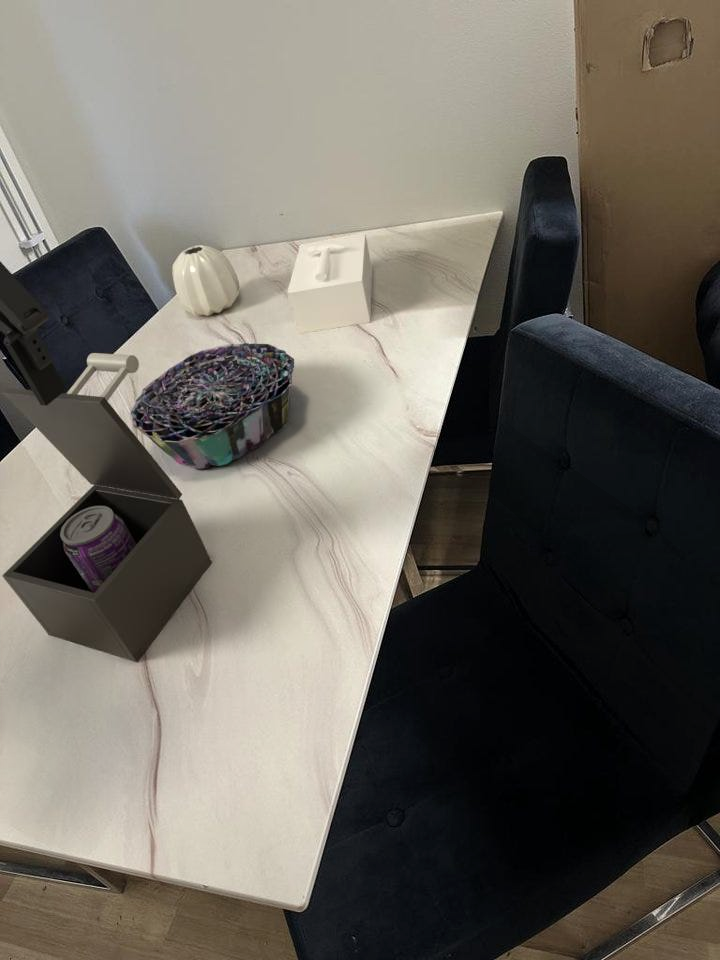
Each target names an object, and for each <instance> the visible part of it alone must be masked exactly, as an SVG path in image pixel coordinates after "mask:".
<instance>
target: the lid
mask: <svg viewBox="0 0 720 960" xmlns="http://www.w3.org/2000/svg"><path fill="white" fill-rule="evenodd" d="M86 364H87V367H86V368H85V369H84V370H83V372H82V373H81V374H80V376H79V377H78V378H77V379H76V381H75V382H74V383H73V385H72V386H71V387H70V388H69V389H68V391H67V392H66V393H65V392H63V393H62V394H60V395H59V396H58V397H57V398H56V399H54V400H53V401H52V402H51V403H49V404H48V405H47V406H45V405H40V403H39V401H38V399H37V398H36V396H35V394H34V393H33V391H32V389H23V388H22V389H21V388H11V387H7V388H6V389H5V390H4V391H3V392H2V394H3V395H4V396H5V397H6V398H7V399H8V400H9V401H10V402H11V403H12V404H13V405H14V406H15V408H17V410H18V411H19V412H20V413H22V415H23V416H24V417H25V418H26V419H27V420H28V421H29V422H30V423H31V424H32V425H33V426H34V427H35V428H36V430H38V431H39V432H40V433H41V434H42V436H43V437H45V439H46V440H48V442H49V443H51V445H52V446H53V447H54V448H55V449H56V450H57V451H58V452H59V454H61V455H62V456H63V457H64V459H66V461H68V462H69V463H70V465H72V467H74V469H76V471H78V473H79V474H80V475H81V476H82V477H83V478H84V479H85V480H86V481H87V482H88V483H89V484H90V485H92V486H94V485H98V486H103V487H109V488H115V489H121V490H127V491H133V492H139V493H145V494H150V495H156V496H162V497H168V498H174V499H180V500H181V497H182V496H183V493H182V492H181V490H179V488H178V487H177V485H175V483H174V482H173V481H172V479H171V478H170V477H169V476H168V474H167V473H166V472H165V471H164V469H163V468H162V467H161V466H160V465H159V462H157V461H156V459H155V458H154V457H153V455H152V454H150V453H151V452H149V451H148V449H147V448H146V447H145V446H144V444H143V443H142V442H141V441H140V439H138V437H137V436H136V434H135V433H134V432H133V431H132V430H131V428H130V427H129V426H128V425H127V424H126V422H125V421H124V420H123V419H122V417H121V416H120V415H119V413H118V412H117V411H116V410H115V409H114V407H113V406H112V405H111V404H110V402H109V400H110V398H111V397H112V395H114V393H115V392H116V390H117V389H118V388H119V386H120V385H121V383H122V382H123V380H125V378H126V377H127V375H128V374H135V373H137V371H138V370H139V367H140V361H139V359H138V357H137V356H136V355H133V354H119V353H118V354H117V353H101V352H99V353H98V352H92V353H89V355H88V356H87V358H86ZM97 371H98V372H109V373H116V374H115V375H114V377H113V378H112V380H110V381H109V383H108V385H107V386H106V387H105V388H104V390H103V392H101V394H100V395H99V396H98V395H97V396H96V395H85V394H79V393H80V392H81V390H82V389H83V388H84V386H85V385H86V384H87V382H88V381H89V380H90V378H91V377H92V376H93V375H94V373H95V372H97Z"/></svg>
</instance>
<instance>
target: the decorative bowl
mask: <svg viewBox="0 0 720 960" xmlns="http://www.w3.org/2000/svg"><path fill="white" fill-rule="evenodd" d="M294 368H295V358H294V357H292V356H291V355H289V354H288V353H287V352H286V350H284V349H280V348H278V347H277V346H274V345H272V344H270V343H247V342H244V343H228V344H223V345H217V346H215V347H213V348H207V349H203V350H200V351H198V352H196V353H193V354H191V355H189V356H187V357H186V358H184V359H183V360H182V361H180V362H178V363H176V364H174V365H173V366H171V367H169V368H168V369H167V370H166V371H164V372H163V373H162V374H160V375H159V376H158V377H157V378H155V379H153V380H152V381H151V382H150V383H148V384H147V385H146V386H145V387H144V388H143V389H142V390H141V393H140V395H139V396H138V397H137V398H136V399H135V403H134V404H133V407H132V409H131V411H130V413H129V414H130V416H131V418H132V426H133V428H135V429H137V430H138V431H139V432H141V433H142V434H143V435H144V436H145V437H147V438H148V439H149V440H150V441H152V443H154V444H155V445H156V446H157V448H159V449H161V450H162V451H163V453H165V454H166V455H167V456H169V457H170V458H171V459H173V460H174V461H175V462H176V463H178V464H179V465H183V466H187V465H188V466H189V467H190V468H192V469H195V470H198V471H201V470H206V469H208V468H209V467H211V466H216V467H224V466H226V465H229V464H230V463H232V461H233V460H234V461H235V460H237V459H239V458H241V457H243V456H244V455H245V454H246V453H247V452H248V451H253V450H256V448H258V447H260V446H261V445H262V444H263V442H264V441H265V440H268V439H269V438H270V437H271V435H273V434H278V433H279V432H281V431H282V430H283V429H284V428H285V427H286V426H287V420H288V411H289V406H290V402H291V401H290V400H291V389H292V388H291V386H292V383H293V376H292V374H293V372H294Z"/></svg>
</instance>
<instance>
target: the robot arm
mask: <svg viewBox="0 0 720 960" xmlns="http://www.w3.org/2000/svg"><path fill="white" fill-rule="evenodd" d="M49 318H50V317H49V313H48V312H47V311H46V310H45V309H44V308H43V306H41V304H40V303H39V302H38V301H37V300H36V298H35V297H34V296H33V295H32V294H31V293H30V292H29V291H28V290H27V289H26V288H25V287H24V286H23V285H22V283H21V282H20V281H19V280H18V279H17V278H16V277H15V276H14V274H13V273H12V272H11V271H10V270H9V269H8V268H7V267H6V266H5V265H4V263H3V262H2V261H1V260H0V332H1V333H2V334H3V335H5V337H4V339H3V342H2V343H3V344H4V345H5V347H6V349H7V351H8V353H9V354H10V356H11V357H12V359H13V361H14V362H15V364H16V366H17V367H18V369H19V371H20V373H21V374H22V376H23V378H24V379H25V381H26V382H27V384H28V386H29V388H30V390H32V391H33V393H34V394H35V396H36V398H37V399H38V401H39V403H40V405H45V406H47V405H48V404H49V403H51V402H52V401H53V400H54V399H56V398H57V397H58V396H59V395H60V394H62V393H65V392H66V391H67V387H66V385H65V383H64V381H63V379H62V378H61V375H60V374H59V372H58V370H57V368H56V367H55V365H54V363H53V360H52V356H51V354H50V353H49V351H48V349H47V347H46V345H45V343H44V342H43V340H42V339H41V337H40V335H39V333H38V330H37V329H38V328H39V327H40V326H41V325H43V324H44V323H46V322H48V320H49Z"/></svg>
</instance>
